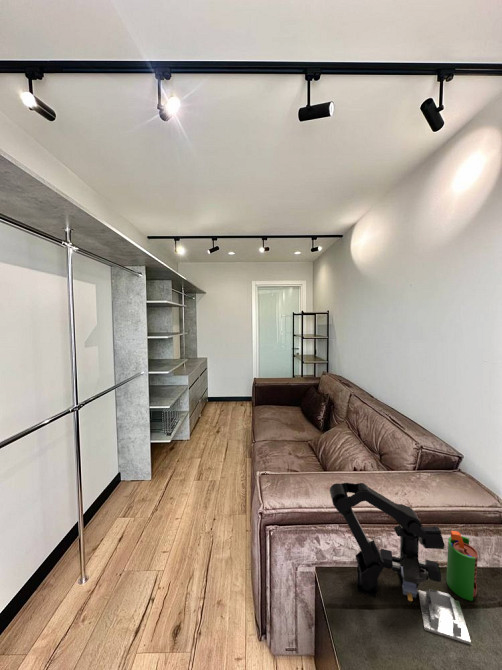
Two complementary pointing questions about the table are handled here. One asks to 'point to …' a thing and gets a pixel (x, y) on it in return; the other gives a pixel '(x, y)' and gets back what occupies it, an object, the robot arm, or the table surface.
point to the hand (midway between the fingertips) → (408, 585)
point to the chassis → (443, 615)
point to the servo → (409, 588)
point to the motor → (461, 566)
